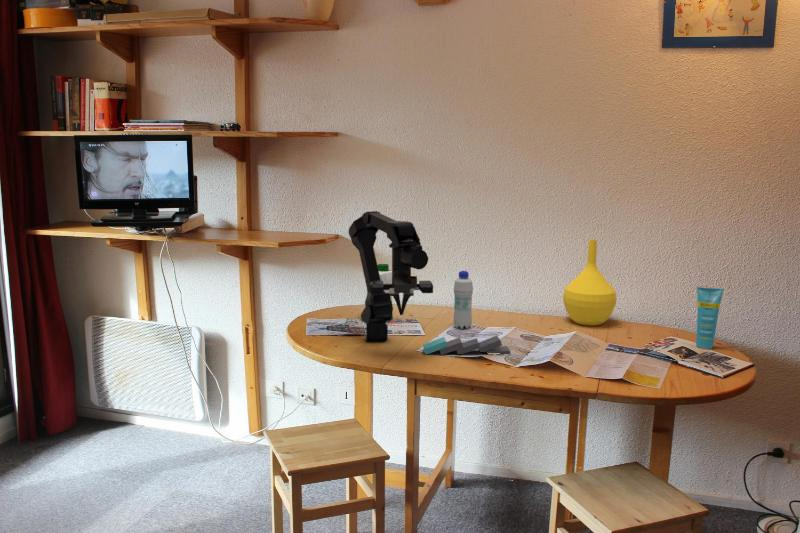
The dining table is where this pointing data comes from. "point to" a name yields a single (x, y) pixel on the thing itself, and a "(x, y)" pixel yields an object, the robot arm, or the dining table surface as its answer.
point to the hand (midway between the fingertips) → (401, 314)
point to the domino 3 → (469, 346)
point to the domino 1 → (434, 345)
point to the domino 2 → (452, 346)
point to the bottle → (463, 300)
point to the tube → (707, 315)
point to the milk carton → (385, 276)
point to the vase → (589, 294)
